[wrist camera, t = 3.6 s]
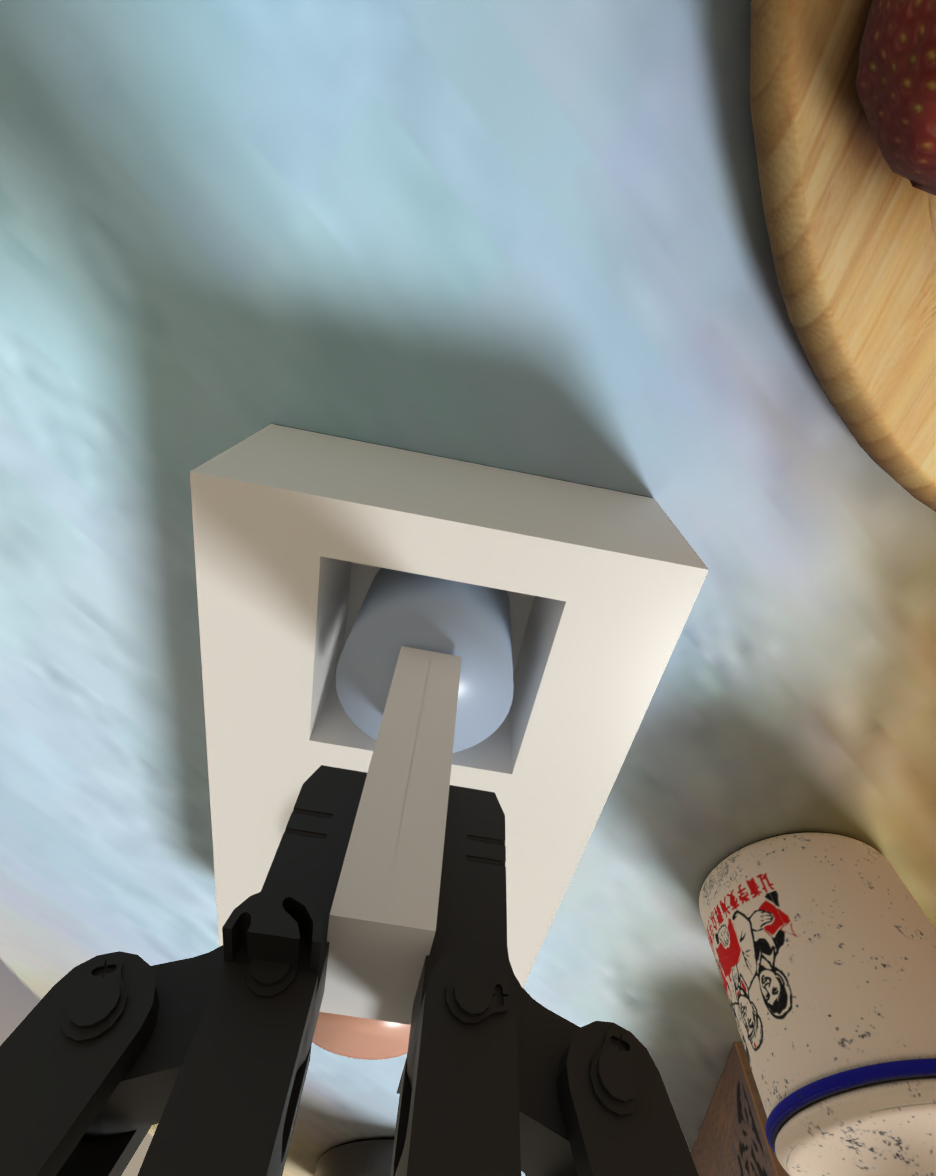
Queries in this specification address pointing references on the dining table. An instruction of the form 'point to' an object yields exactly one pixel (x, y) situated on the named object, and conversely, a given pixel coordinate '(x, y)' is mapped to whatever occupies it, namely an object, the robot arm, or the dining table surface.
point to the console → (443, 550)
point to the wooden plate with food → (856, 209)
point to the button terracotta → (361, 1036)
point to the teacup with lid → (830, 1001)
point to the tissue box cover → (735, 1126)
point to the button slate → (430, 649)
